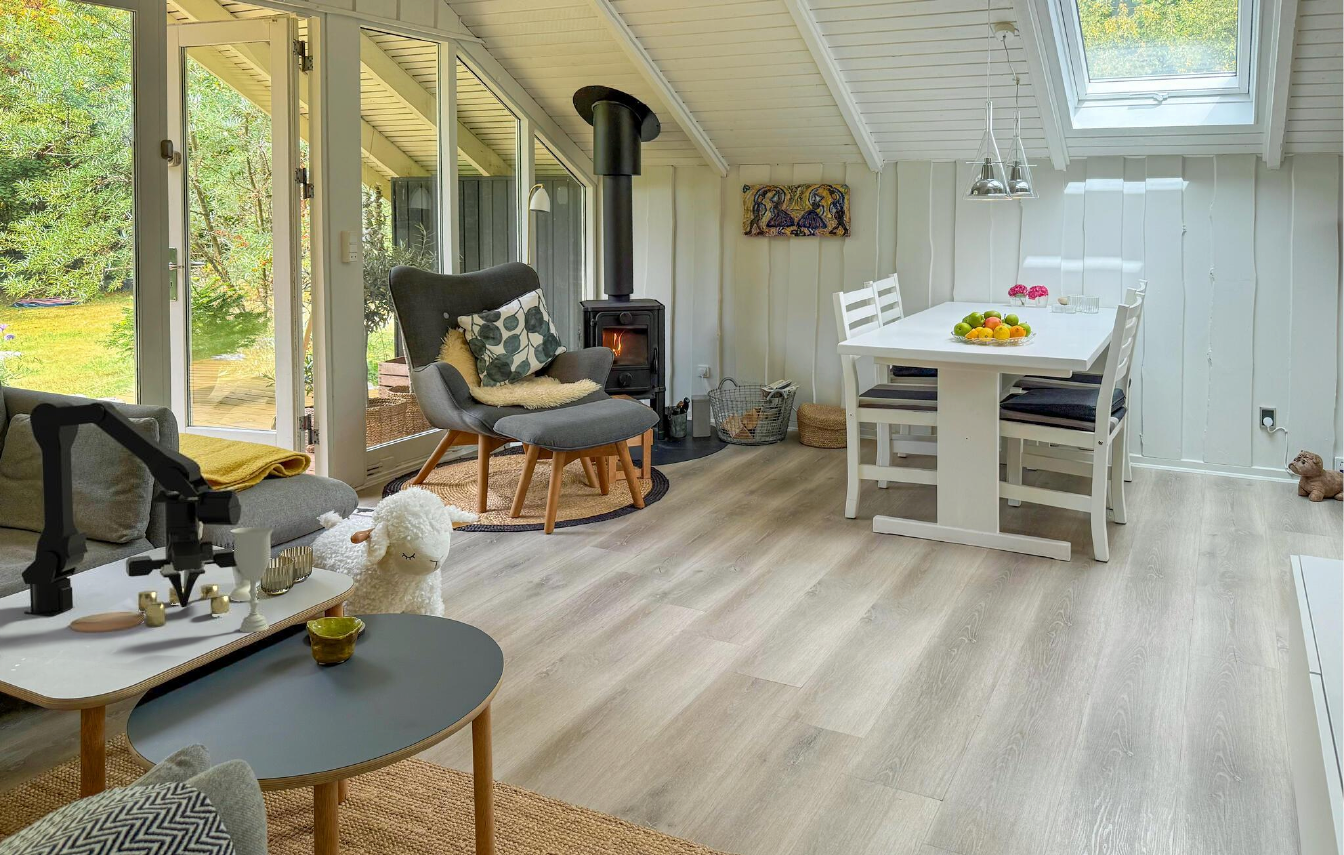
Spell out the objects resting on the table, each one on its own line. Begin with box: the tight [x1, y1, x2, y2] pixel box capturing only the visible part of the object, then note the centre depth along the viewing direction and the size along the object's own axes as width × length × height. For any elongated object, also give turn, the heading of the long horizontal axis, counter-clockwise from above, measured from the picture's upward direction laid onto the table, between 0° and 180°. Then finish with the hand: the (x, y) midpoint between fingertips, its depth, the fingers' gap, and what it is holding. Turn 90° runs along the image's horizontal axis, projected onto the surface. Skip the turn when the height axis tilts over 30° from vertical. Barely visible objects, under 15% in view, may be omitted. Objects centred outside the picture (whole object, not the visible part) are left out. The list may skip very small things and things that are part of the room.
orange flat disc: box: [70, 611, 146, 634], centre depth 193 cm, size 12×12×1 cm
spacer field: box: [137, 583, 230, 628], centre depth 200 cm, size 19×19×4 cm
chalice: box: [230, 526, 274, 633], centre depth 190 cm, size 7×7×18 cm
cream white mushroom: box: [229, 578, 257, 600], centre depth 208 cm, size 6×6×8 cm
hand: (183, 606), depth 200 cm, fingers closed
